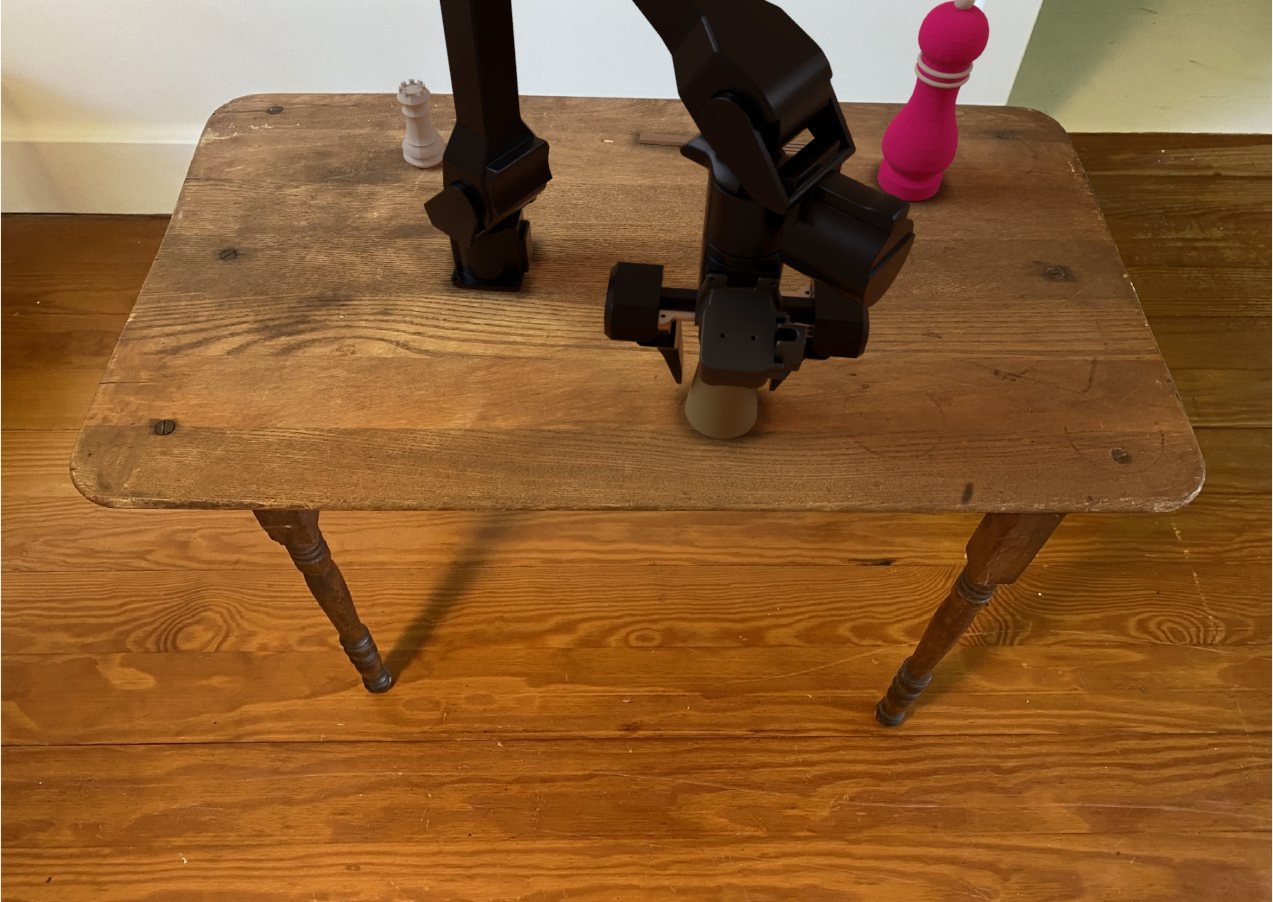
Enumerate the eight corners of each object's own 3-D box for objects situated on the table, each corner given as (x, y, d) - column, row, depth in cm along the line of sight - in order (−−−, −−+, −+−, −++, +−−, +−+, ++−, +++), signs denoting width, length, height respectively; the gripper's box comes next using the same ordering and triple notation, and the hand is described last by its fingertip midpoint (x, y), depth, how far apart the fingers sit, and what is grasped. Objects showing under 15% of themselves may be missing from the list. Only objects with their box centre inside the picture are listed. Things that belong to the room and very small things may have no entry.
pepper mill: (953, 176, 95) (1022, -17, 79) (927, 214, 91) (994, 20, 75) (889, 152, 97) (943, -41, 81) (861, 188, 94) (911, -6, 77)
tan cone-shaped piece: (752, 444, 74) (771, 353, 65) (678, 432, 75) (687, 339, 66) (761, 388, 78) (780, 294, 69) (691, 377, 78) (701, 282, 69)
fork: (639, 146, 97) (639, 142, 97) (641, 133, 98) (641, 129, 98) (819, 159, 96) (820, 155, 96) (818, 146, 98) (819, 142, 97)
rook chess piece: (444, 170, 94) (431, 100, 87) (400, 169, 94) (384, 99, 87) (450, 144, 96) (438, 73, 90) (407, 143, 96) (392, 72, 90)
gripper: (591, 305, 56) (597, 455, 69) (897, 328, 56) (846, 475, 68) (611, 191, 63) (613, 346, 76) (884, 210, 62) (840, 364, 75)
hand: (725, 383), depth 73 cm, fingers closed on tan cone-shaped piece, 7 cm apart
